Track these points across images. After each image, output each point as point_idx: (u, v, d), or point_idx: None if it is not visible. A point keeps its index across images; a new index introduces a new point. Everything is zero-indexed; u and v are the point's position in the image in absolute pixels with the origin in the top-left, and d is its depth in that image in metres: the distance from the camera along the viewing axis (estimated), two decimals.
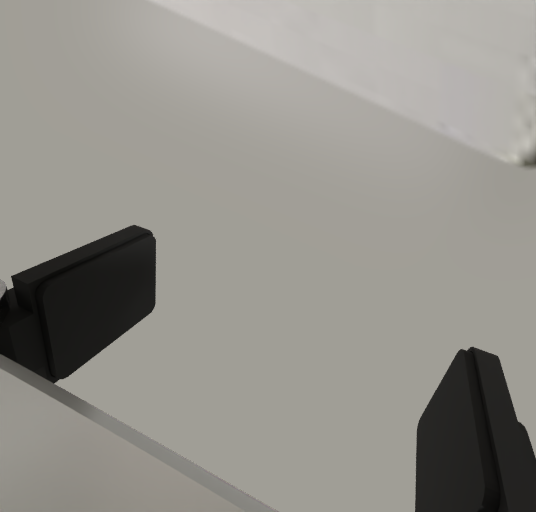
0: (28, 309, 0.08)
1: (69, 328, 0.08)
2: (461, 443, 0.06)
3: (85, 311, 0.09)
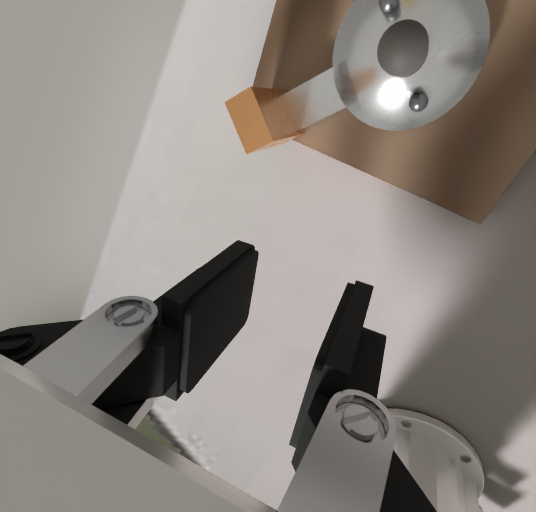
0: (174, 327, 0.08)
1: (200, 344, 0.09)
2: None
3: (210, 327, 0.09)
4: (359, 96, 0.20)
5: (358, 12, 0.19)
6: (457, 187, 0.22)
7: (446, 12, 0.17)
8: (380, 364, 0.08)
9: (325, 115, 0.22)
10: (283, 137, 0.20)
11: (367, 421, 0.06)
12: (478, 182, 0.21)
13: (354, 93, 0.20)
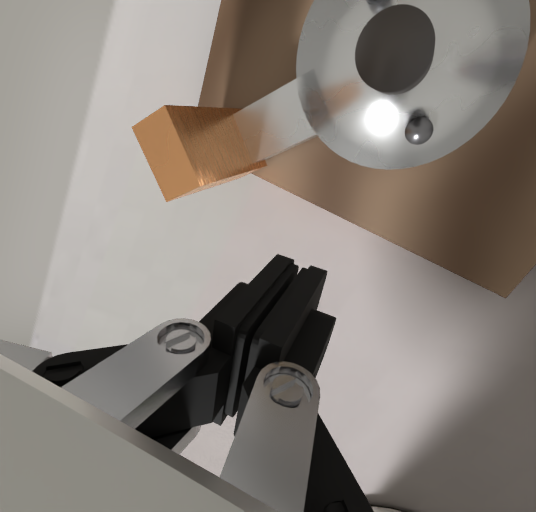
0: (225, 351, 0.07)
1: (247, 366, 0.08)
2: None
3: None
4: (334, 120, 0.14)
5: None
6: (473, 247, 0.15)
7: None
8: (324, 342, 0.08)
9: (288, 144, 0.15)
10: (223, 177, 0.14)
11: (295, 390, 0.06)
12: (504, 243, 0.15)
13: (327, 115, 0.14)
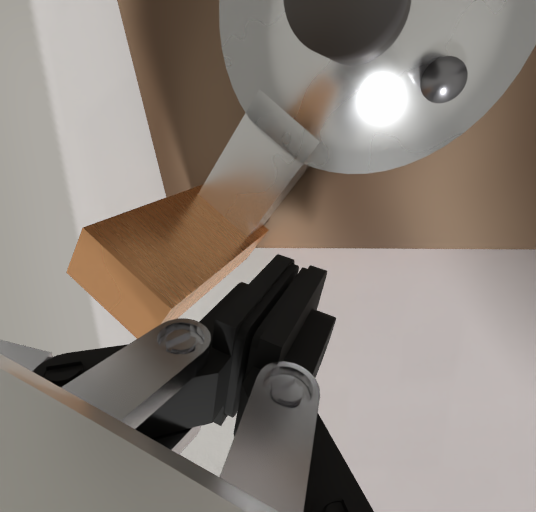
0: (225, 352, 0.07)
1: (247, 367, 0.08)
2: None
3: None
4: (316, 134, 0.10)
5: None
6: None
7: None
8: (324, 342, 0.08)
9: (277, 194, 0.11)
10: (207, 276, 0.10)
11: (294, 390, 0.06)
12: None
13: (305, 134, 0.10)
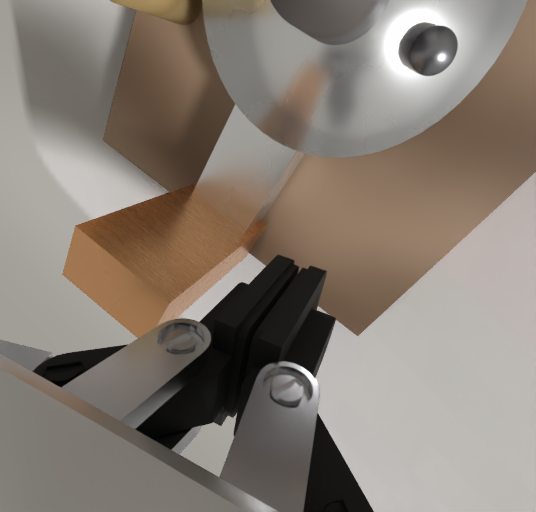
0: (226, 352, 0.07)
1: None
2: None
3: None
4: (308, 119, 0.10)
5: None
6: None
7: None
8: (324, 342, 0.08)
9: (272, 185, 0.11)
10: (206, 270, 0.10)
11: (295, 390, 0.06)
12: None
13: (297, 120, 0.10)
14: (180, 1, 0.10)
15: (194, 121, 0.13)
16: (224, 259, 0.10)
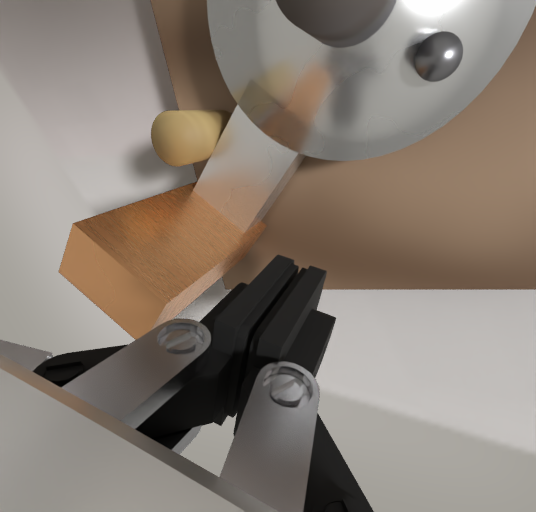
0: (226, 351, 0.07)
1: None
2: None
3: None
4: (311, 121, 0.10)
5: None
6: None
7: None
8: (323, 342, 0.08)
9: (273, 186, 0.11)
10: (204, 271, 0.09)
11: (294, 390, 0.06)
12: None
13: (299, 122, 0.10)
14: None
15: (288, 212, 0.13)
16: (222, 260, 0.10)
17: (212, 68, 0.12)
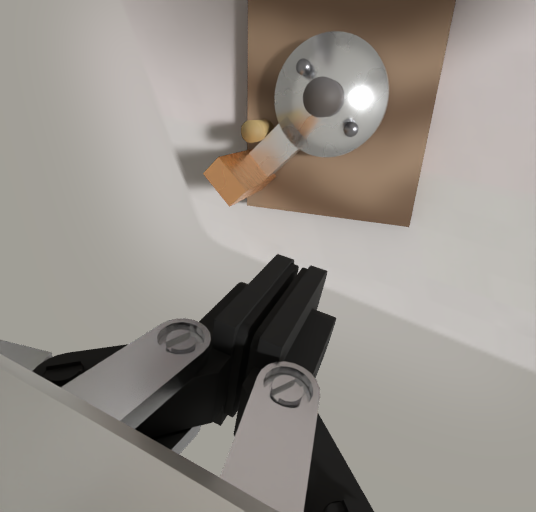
0: (225, 351, 0.07)
1: (247, 366, 0.08)
2: None
3: None
4: (305, 138, 0.25)
5: (284, 80, 0.24)
6: None
7: (347, 62, 0.23)
8: (324, 342, 0.08)
9: (285, 159, 0.27)
10: (255, 185, 0.25)
11: (295, 390, 0.06)
12: None
13: (301, 137, 0.25)
14: (269, 131, 0.27)
15: (287, 172, 0.29)
16: (260, 184, 0.26)
17: (268, 101, 0.27)
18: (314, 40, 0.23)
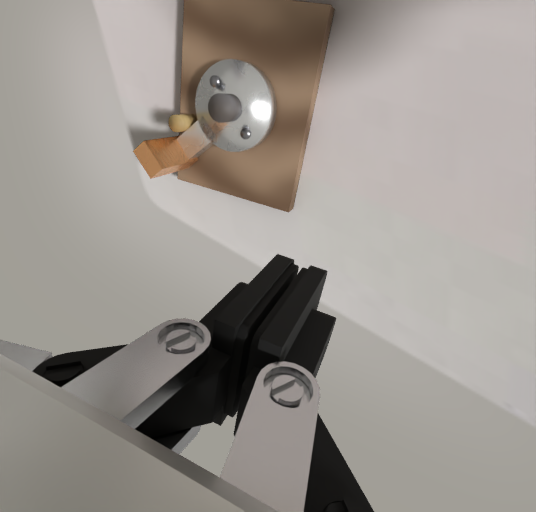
0: (225, 351, 0.07)
1: (247, 366, 0.08)
2: None
3: None
4: (216, 134, 0.34)
5: (202, 88, 0.32)
6: (306, 37, 0.29)
7: (244, 83, 0.31)
8: (324, 342, 0.08)
9: (201, 148, 0.35)
10: (173, 165, 0.33)
11: (295, 390, 0.06)
12: (300, 23, 0.29)
13: (213, 133, 0.34)
14: (192, 124, 0.35)
15: (207, 158, 0.37)
16: (179, 164, 0.34)
17: None
18: (223, 63, 0.31)
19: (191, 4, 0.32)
